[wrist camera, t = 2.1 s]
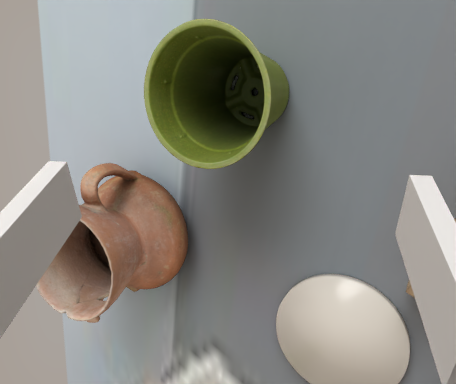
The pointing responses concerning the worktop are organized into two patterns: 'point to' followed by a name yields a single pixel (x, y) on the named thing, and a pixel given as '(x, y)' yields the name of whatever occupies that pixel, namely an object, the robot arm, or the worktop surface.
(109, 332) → the worktop surface
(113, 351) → the worktop surface
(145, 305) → the worktop surface
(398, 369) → the disc
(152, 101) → the plant pot
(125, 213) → the ceramic jug
